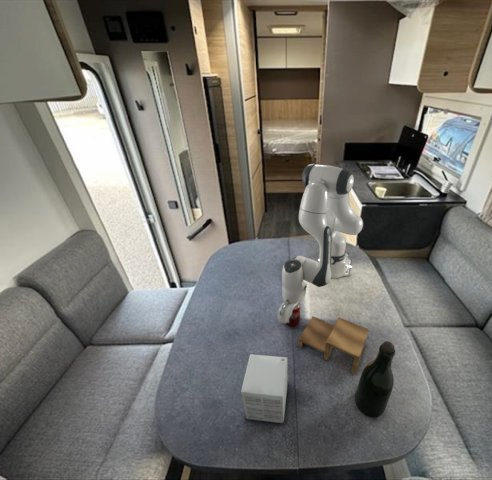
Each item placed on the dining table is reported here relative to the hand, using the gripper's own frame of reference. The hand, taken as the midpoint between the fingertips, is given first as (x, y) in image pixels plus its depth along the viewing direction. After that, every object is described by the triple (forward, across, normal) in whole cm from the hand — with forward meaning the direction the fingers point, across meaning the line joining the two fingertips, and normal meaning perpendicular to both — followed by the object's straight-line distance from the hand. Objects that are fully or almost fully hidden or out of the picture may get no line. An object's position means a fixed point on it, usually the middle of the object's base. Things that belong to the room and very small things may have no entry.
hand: (292, 314), depth 120 cm
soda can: (+5, 0, 0) cm, 5 cm away
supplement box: (+5, -35, -9) cm, 37 cm away
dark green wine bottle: (+5, -18, -41) cm, 45 cm away
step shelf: (+5, -3, -21) cm, 22 cm away
